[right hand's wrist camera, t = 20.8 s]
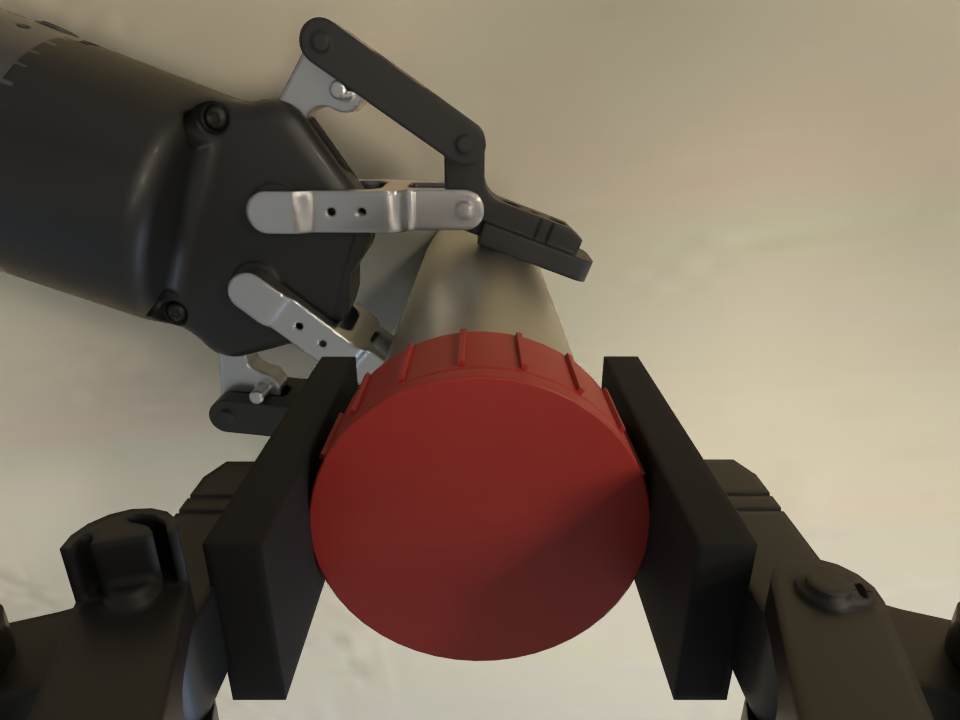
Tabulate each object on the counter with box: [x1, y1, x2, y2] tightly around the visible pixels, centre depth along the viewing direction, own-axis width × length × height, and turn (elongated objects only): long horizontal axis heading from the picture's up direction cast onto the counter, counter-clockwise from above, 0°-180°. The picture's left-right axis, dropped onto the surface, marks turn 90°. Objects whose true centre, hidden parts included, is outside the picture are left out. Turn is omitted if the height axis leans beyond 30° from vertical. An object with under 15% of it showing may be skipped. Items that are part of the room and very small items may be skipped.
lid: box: [309, 329, 650, 661], centre depth 11 cm, size 6×6×2 cm
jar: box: [384, 230, 575, 363], centre depth 19 cm, size 5×5×17 cm
